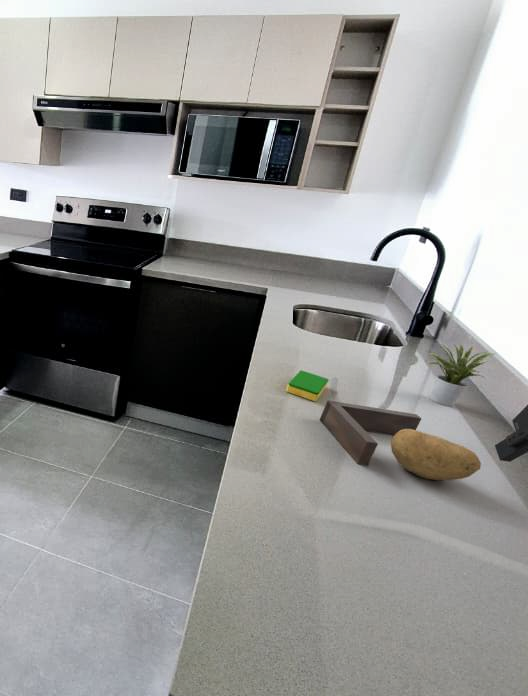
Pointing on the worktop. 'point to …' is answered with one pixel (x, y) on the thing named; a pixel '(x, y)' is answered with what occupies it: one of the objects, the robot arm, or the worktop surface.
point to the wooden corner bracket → (363, 426)
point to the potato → (433, 456)
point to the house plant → (454, 376)
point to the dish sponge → (307, 385)
